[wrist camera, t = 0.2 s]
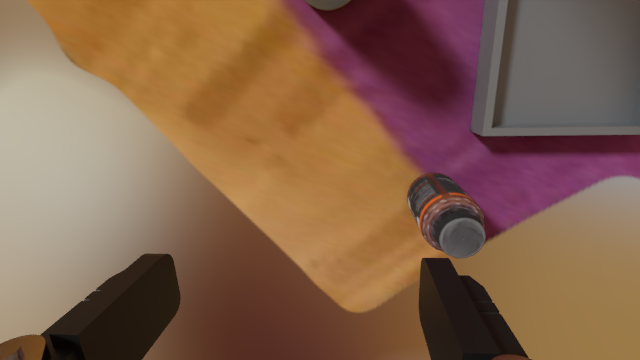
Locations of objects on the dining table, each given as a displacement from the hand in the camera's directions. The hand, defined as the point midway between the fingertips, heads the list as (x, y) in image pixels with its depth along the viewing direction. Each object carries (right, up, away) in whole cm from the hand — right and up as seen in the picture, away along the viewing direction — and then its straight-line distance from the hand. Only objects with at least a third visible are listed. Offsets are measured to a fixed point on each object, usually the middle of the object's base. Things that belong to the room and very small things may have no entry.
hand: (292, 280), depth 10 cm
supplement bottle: (+14, +1, +29) cm, 32 cm away
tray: (+26, +17, +23) cm, 38 cm away
